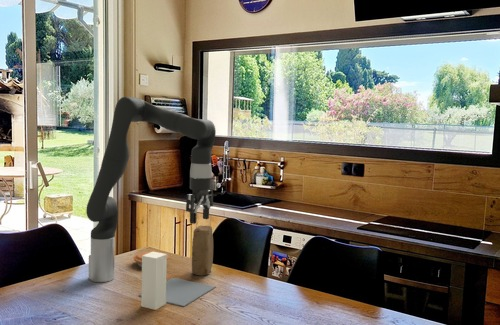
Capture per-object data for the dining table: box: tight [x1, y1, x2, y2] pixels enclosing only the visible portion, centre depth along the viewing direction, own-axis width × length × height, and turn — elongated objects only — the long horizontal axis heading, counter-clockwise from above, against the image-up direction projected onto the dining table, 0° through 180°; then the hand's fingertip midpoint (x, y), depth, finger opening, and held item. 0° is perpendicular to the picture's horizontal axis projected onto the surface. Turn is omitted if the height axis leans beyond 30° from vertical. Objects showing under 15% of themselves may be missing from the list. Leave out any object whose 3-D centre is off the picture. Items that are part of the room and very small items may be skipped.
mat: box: [137, 277, 217, 308], centre depth 173 cm, size 20×22×1 cm
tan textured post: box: [191, 225, 214, 276], centre depth 196 cm, size 11×8×20 cm
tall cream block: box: [140, 251, 168, 311], centre depth 159 cm, size 6×6×18 cm
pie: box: [133, 250, 170, 269], centre depth 205 cm, size 16×16×5 cm
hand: (199, 221), depth 163 cm, fingers open, 8 cm apart
